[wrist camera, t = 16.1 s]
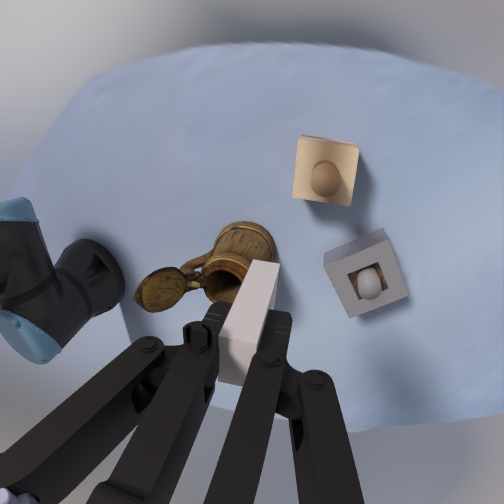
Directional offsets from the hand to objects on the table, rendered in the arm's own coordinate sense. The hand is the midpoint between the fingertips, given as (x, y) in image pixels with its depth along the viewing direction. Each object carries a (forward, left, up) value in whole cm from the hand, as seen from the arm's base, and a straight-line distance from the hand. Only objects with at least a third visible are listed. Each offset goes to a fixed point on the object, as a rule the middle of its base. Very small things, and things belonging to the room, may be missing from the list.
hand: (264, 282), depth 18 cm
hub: (+11, -11, -28) cm, 31 cm away
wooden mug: (-9, -12, -28) cm, 31 cm away
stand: (+3, +2, -28) cm, 28 cm away
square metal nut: (+11, -11, -26) cm, 30 cm away
